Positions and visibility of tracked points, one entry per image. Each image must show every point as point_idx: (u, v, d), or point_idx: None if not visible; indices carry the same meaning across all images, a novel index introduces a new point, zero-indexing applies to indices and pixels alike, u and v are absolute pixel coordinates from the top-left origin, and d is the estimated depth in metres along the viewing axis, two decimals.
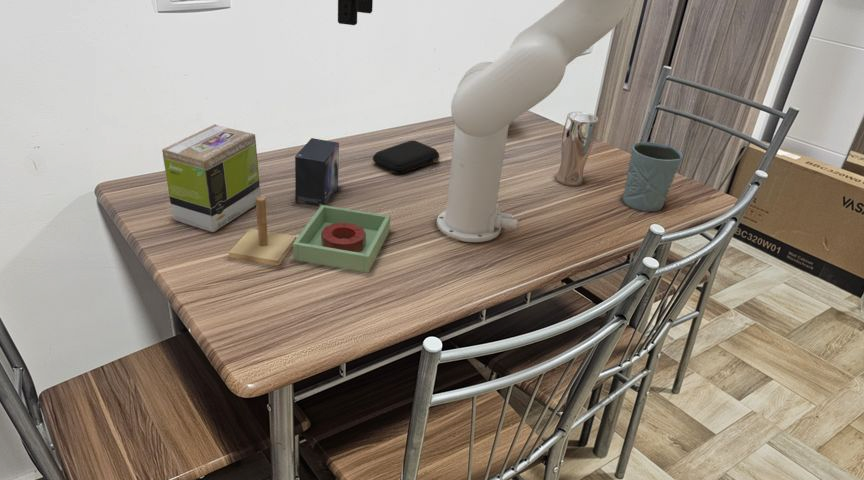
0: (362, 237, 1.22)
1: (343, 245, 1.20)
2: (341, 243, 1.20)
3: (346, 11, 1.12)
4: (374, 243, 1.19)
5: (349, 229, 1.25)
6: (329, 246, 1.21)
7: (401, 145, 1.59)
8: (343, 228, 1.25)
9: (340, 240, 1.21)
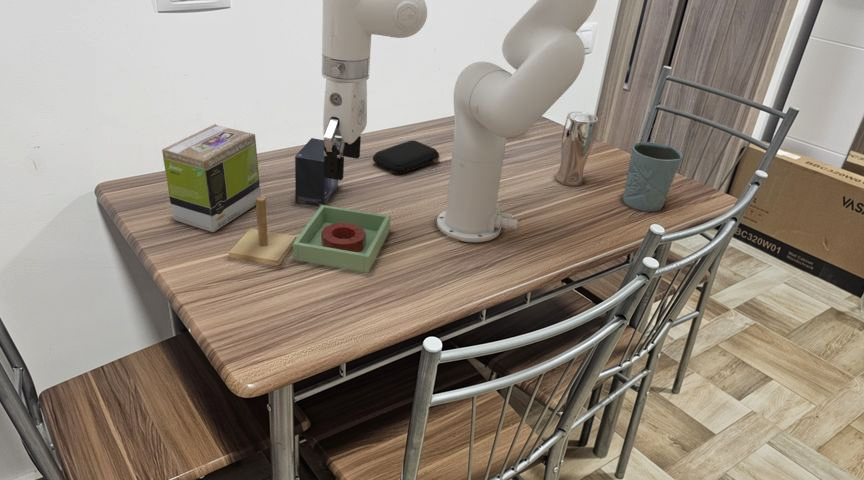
0: (362, 237, 1.22)
1: (343, 245, 1.20)
2: (341, 243, 1.20)
3: (332, 168, 1.11)
4: (374, 243, 1.19)
5: (349, 229, 1.25)
6: (329, 246, 1.21)
7: (401, 145, 1.59)
8: (343, 228, 1.25)
9: (340, 240, 1.21)
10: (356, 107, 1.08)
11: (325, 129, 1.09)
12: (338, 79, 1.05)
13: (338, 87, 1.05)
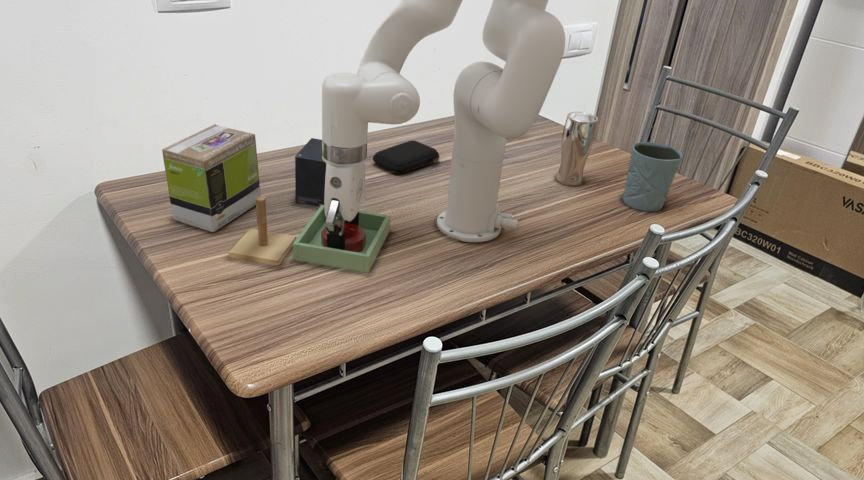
0: (362, 237, 1.22)
1: None
2: None
3: (334, 244, 1.19)
4: (374, 243, 1.19)
5: (349, 229, 1.25)
6: None
7: (401, 145, 1.59)
8: None
9: None
10: (355, 187, 1.15)
11: (326, 208, 1.16)
12: (337, 164, 1.12)
13: (337, 172, 1.12)
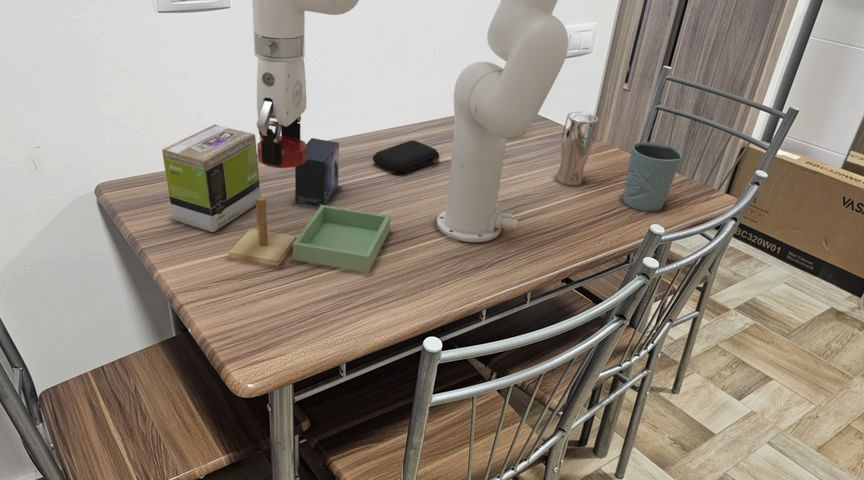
0: (302, 149, 1.11)
1: None
2: None
3: (270, 153, 1.07)
4: (374, 243, 1.19)
5: (289, 142, 1.14)
6: None
7: (401, 145, 1.59)
8: (282, 141, 1.14)
9: None
10: (291, 87, 1.04)
11: (259, 111, 1.04)
12: (270, 58, 1.01)
13: (270, 66, 1.00)
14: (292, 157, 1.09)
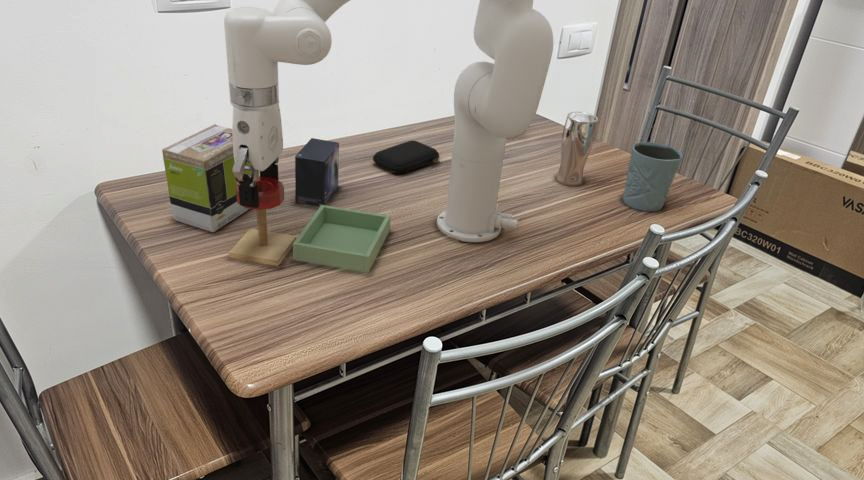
0: (279, 190, 1.14)
1: None
2: None
3: (247, 197, 1.10)
4: (374, 243, 1.19)
5: (267, 183, 1.17)
6: None
7: (401, 145, 1.59)
8: (260, 182, 1.17)
9: None
10: (266, 134, 1.07)
11: (235, 157, 1.07)
12: (244, 107, 1.04)
13: (244, 115, 1.04)
14: (269, 199, 1.13)
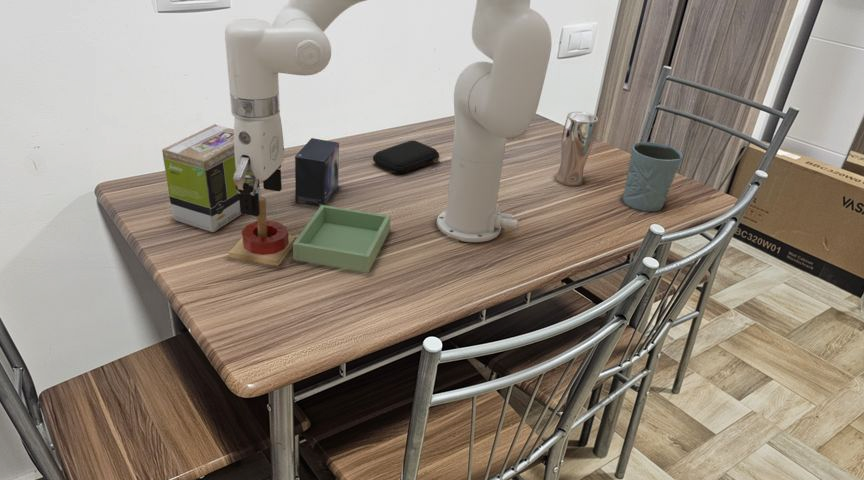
0: (283, 236, 1.19)
1: (262, 244, 1.17)
2: (260, 242, 1.17)
3: (247, 205, 1.11)
4: (374, 243, 1.19)
5: (272, 227, 1.22)
6: (248, 245, 1.18)
7: (401, 145, 1.59)
8: None
9: (260, 238, 1.18)
10: (267, 144, 1.08)
11: (237, 167, 1.08)
12: (246, 118, 1.05)
13: (245, 126, 1.05)
14: (274, 244, 1.18)
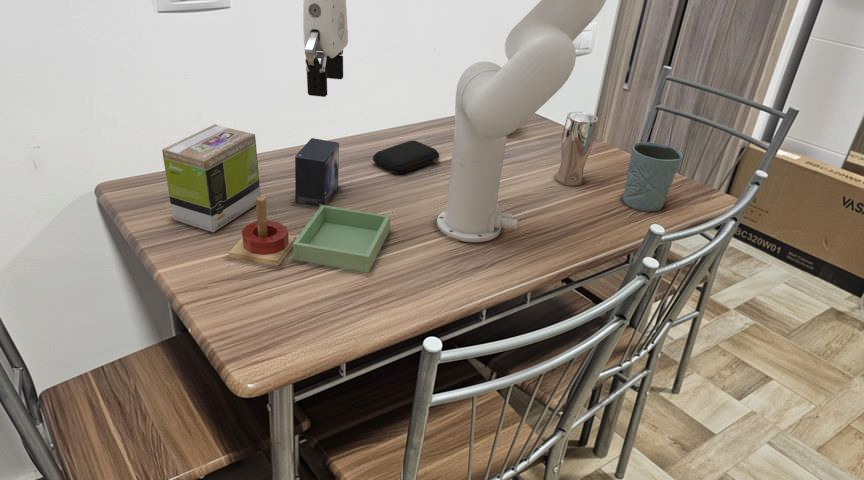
0: (283, 236, 1.19)
1: (262, 244, 1.17)
2: (260, 242, 1.17)
3: (315, 84, 1.10)
4: (374, 243, 1.19)
5: (272, 227, 1.22)
6: (248, 245, 1.18)
7: (401, 145, 1.59)
8: None
9: (260, 238, 1.18)
10: (336, 18, 1.07)
11: (306, 43, 1.08)
12: None
13: None
14: (274, 244, 1.18)
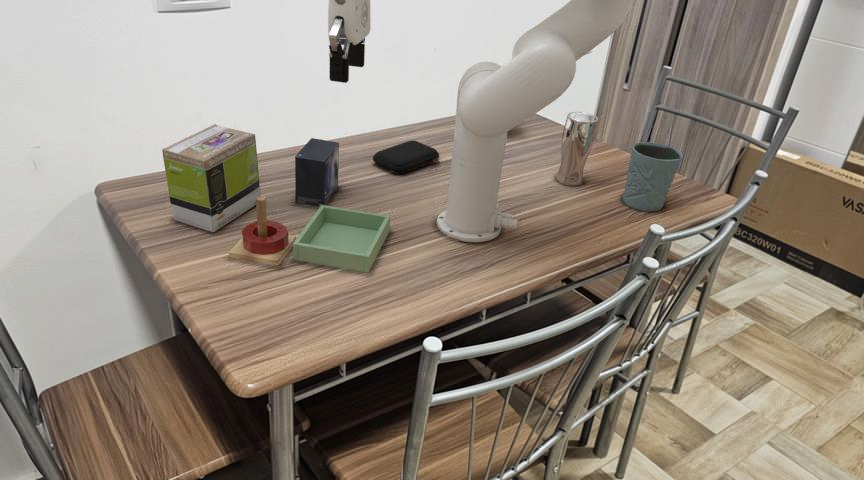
0: (283, 236, 1.19)
1: (262, 244, 1.17)
2: (260, 242, 1.17)
3: (338, 70, 1.13)
4: (374, 243, 1.19)
5: (272, 227, 1.22)
6: (248, 245, 1.18)
7: (401, 145, 1.59)
8: None
9: (260, 238, 1.18)
10: (360, 6, 1.10)
11: (330, 29, 1.11)
12: None
13: None
14: (274, 244, 1.18)
